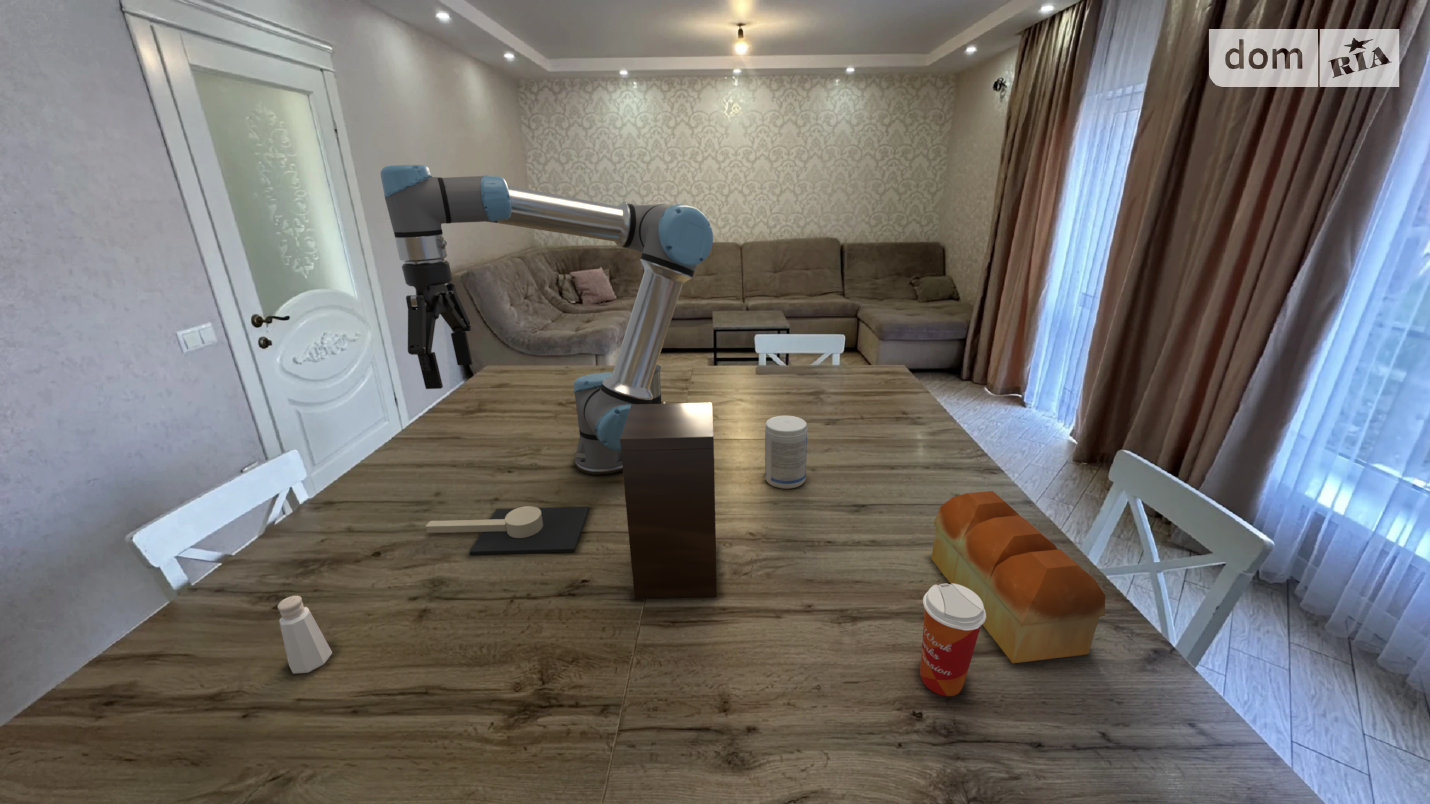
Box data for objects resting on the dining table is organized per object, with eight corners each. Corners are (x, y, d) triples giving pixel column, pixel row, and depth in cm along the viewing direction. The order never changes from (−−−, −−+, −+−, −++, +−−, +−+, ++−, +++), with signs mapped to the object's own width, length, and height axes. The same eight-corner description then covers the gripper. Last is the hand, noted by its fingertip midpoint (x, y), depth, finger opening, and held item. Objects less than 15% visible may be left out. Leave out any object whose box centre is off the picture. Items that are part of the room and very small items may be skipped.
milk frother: (669, 411, 171) (667, 365, 166) (636, 429, 159) (633, 380, 153) (634, 402, 178) (630, 358, 173) (600, 419, 166) (595, 372, 160)
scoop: (437, 520, 115) (434, 508, 114) (547, 517, 115) (545, 505, 114) (420, 540, 109) (417, 527, 107) (537, 537, 109) (535, 524, 108)
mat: (497, 512, 119) (496, 508, 119) (589, 509, 119) (589, 506, 119) (469, 555, 105) (469, 551, 105) (574, 552, 106) (574, 548, 105)
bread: (1092, 656, 80) (1117, 573, 75) (1012, 665, 79) (1032, 582, 74) (991, 551, 103) (1005, 482, 98) (928, 557, 102) (938, 488, 97)
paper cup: (903, 659, 80) (914, 582, 75) (954, 655, 81) (968, 578, 76) (927, 706, 73) (941, 624, 68) (982, 701, 74) (1000, 619, 68)
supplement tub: (813, 482, 128) (817, 425, 123) (782, 494, 124) (784, 435, 118) (786, 466, 136) (788, 411, 131) (756, 477, 131) (756, 420, 126)
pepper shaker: (341, 650, 84) (321, 592, 80) (306, 679, 79) (283, 618, 75) (315, 642, 85) (294, 585, 81) (280, 669, 81) (255, 610, 77)
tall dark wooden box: (642, 548, 106) (631, 404, 95) (715, 546, 106) (712, 402, 95) (634, 599, 93) (619, 438, 82) (717, 596, 93) (713, 436, 82)
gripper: (411, 270, 85) (441, 399, 93) (474, 251, 108) (493, 355, 116) (362, 272, 85) (396, 400, 93) (435, 253, 108) (458, 356, 116)
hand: (450, 375), depth 104 cm, fingers open, 13 cm apart
